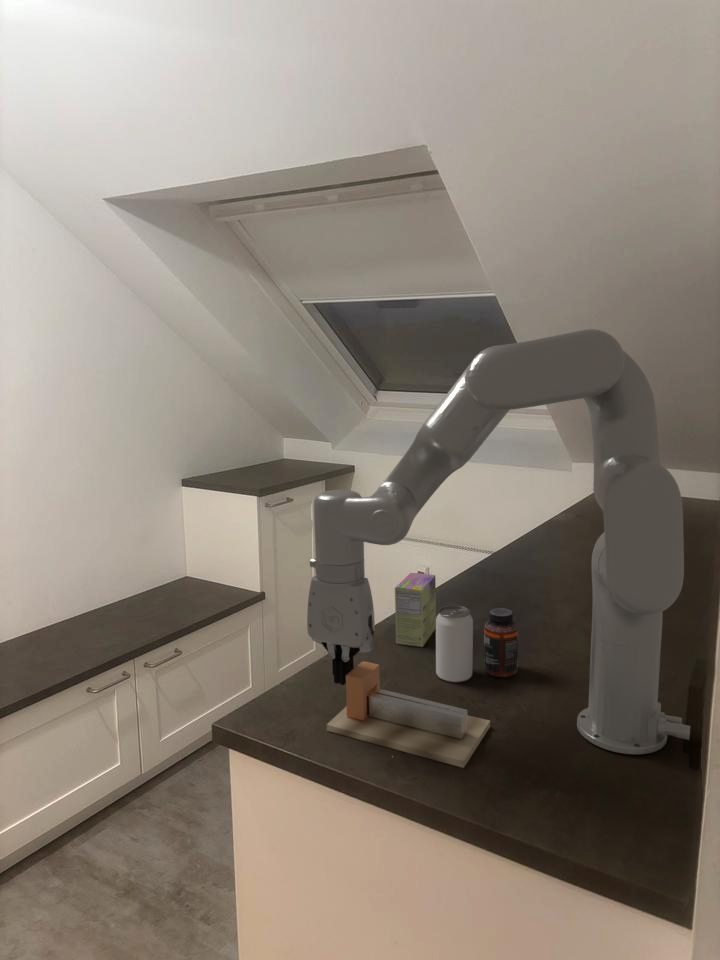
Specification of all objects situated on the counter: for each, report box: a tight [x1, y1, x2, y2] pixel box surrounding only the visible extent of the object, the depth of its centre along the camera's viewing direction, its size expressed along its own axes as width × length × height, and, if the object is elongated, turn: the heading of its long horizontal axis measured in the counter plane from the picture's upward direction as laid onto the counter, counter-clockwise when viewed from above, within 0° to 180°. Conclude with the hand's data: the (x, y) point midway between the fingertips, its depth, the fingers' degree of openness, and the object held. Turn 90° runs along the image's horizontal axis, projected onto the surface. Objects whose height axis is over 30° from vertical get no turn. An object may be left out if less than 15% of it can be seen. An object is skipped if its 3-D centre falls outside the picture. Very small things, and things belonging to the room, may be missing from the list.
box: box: [394, 572, 437, 648], centre depth 139 cm, size 10×6×12 cm, turn 159°
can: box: [435, 605, 474, 683], centre depth 121 cm, size 6×6×12 cm
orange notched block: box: [345, 660, 381, 721], centre depth 108 cm, size 3×6×7 cm, turn 152°
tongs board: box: [326, 696, 491, 769], centre depth 105 cm, size 22×12×4 cm, turn 62°
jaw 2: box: [374, 688, 468, 735], centre depth 104 cm, size 15×1×3 cm, turn 61°
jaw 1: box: [369, 692, 464, 739], centre depth 103 cm, size 15×1×3 cm, turn 62°
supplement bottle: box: [483, 607, 519, 678], centre depth 122 cm, size 6×6×11 cm
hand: (343, 680), depth 109 cm, fingers closed
